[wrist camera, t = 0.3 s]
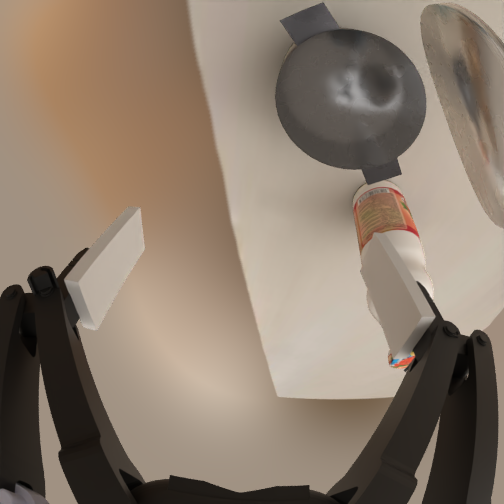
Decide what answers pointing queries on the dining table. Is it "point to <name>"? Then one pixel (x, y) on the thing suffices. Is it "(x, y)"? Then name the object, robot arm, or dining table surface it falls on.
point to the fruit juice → (390, 236)
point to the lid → (470, 95)
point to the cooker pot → (348, 95)
